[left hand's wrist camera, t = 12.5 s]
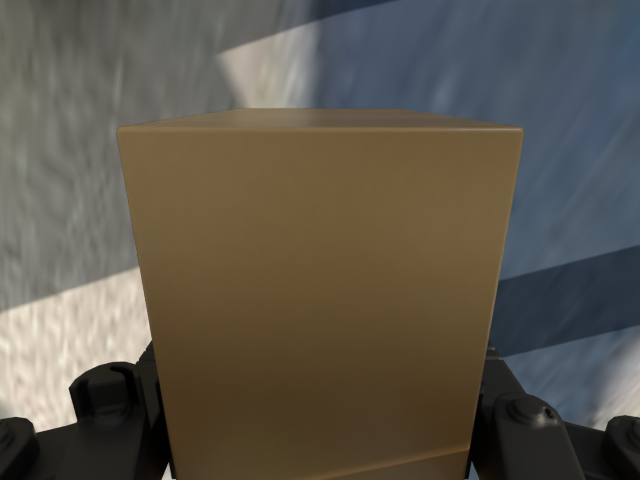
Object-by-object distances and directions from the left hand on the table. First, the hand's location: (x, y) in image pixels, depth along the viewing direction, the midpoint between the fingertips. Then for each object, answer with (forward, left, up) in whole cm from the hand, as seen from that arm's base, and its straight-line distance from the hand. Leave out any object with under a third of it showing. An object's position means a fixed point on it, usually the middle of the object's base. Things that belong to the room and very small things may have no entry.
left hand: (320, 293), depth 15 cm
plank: (+24, +11, 0) cm, 26 cm away
